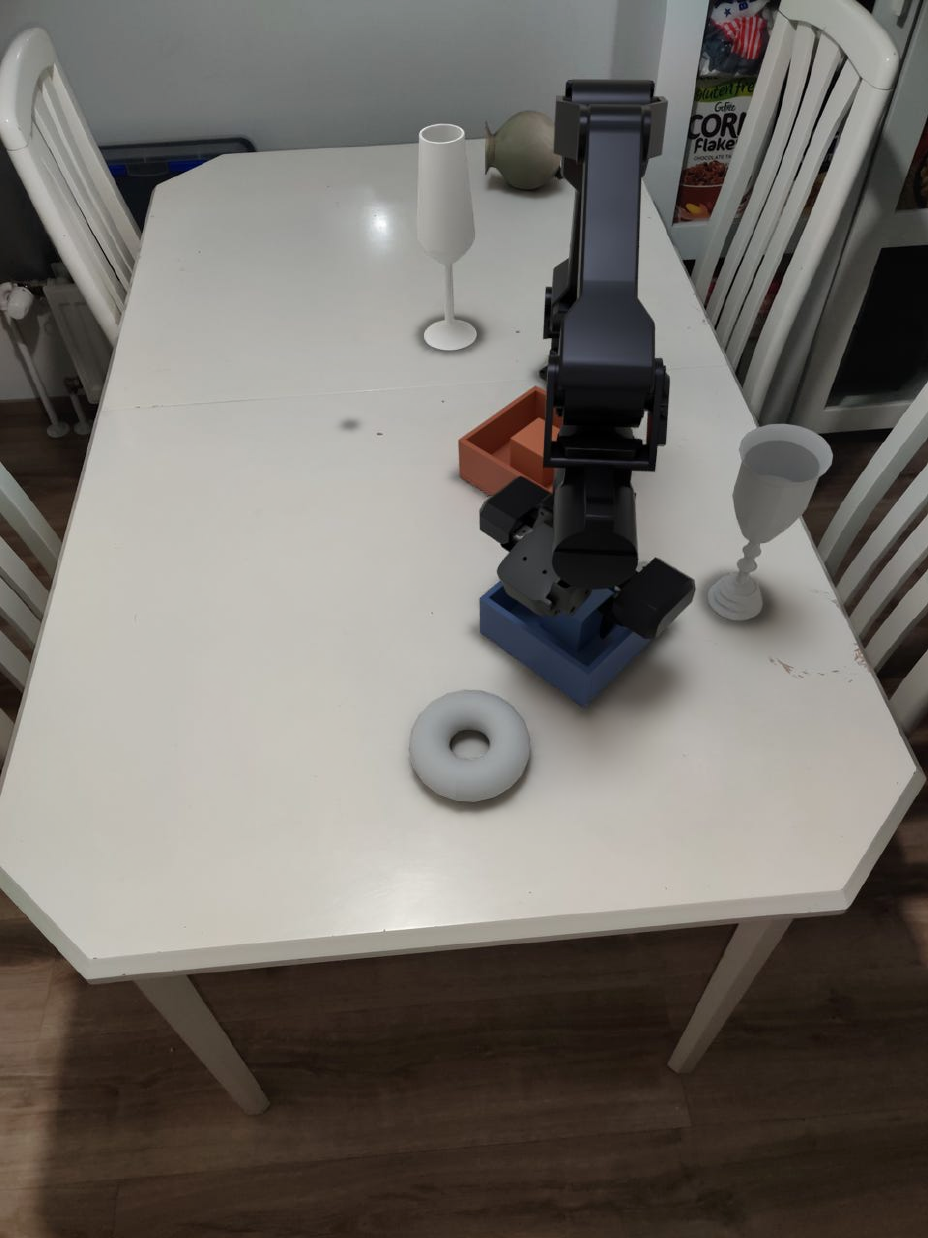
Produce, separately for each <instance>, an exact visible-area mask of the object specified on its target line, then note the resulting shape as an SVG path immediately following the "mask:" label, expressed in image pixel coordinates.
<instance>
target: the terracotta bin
mask: <svg viewBox="0 0 928 1238" xmlns="http://www.w3.org/2000/svg"><path fill="white" fill-rule="evenodd" d="M545 408H546V390H545V389H543V388H541V387H539V386H537V385H533V386H532V387H531V388H529V389H528V390H526V391H525V392H524V393H522V394H521V395H519V397H517V398H515V399H514V400H512V401H511V402H509V403H508V404H507V405H505V406H504V407H503V408H501V409H500V410H498V411H497V412H496V413H494V414H492V415H491V416H490V417H489V418H487V419H486V420H485V421H483V422H481V423H480V424H479V425H477V426H476V427H474V428H473V429H471V430H470V431H469V432H467V433H466V434H464V435H463V436H462V437H460V438H459V439H458V440H457V441H458V443H457V444H458V445H457V446H458V467H459V468H458V469H459V472H458V473H459V477H460V478H462V479H463V480H465V481H466V482H468V483H470V484H472V485H473V486H474V487H476V488H477V489H479V490H481V491H483V492H484V493H485V494H487V495H489V496H490V497H491V496H492V495H493V494H495V493H496V492H497V491H499V490H500V489H501V488H503V487H504V486H505V485H506V484H508V483H509V482H510V481H512V480H513V479H515V478H517V477H519V476H523V477H526V478H528V477H527V476H525V475H523V474H522V473H520V472H519V471H517V470H515V469H514V468H512V467H510V443H511V437H513V436H514V435H516V434H517V433H518V432H520V431H521V430H522V429H524V428H525V427H526V426H528V425H529V424H530V423H532V422H533V421H535V420H536V419H537V418H541V419H543V420H544V421H545ZM561 425H562V417H557V415H556V414H555V408H553V426H555V427H557V428H559V429H560V427H561ZM528 479H530V478H528ZM530 480H531V481H533V480H532V479H530ZM533 482H535V481H533ZM535 483H536V484H538V483H537V482H535ZM538 485H539V486H541V487H543V486H542V485H540V484H538ZM543 488H544V489H546V490H548V491H549V492H551V493H552V491H553V482H551V483H550V484H549V485H547V486H546V487H543Z"/></svg>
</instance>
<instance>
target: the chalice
mask: <svg viewBox="0 0 928 1238" xmlns="http://www.w3.org/2000/svg"><path fill="white" fill-rule="evenodd" d="M738 447H739V448H738V453H739V456H740V460H741V462H740V466H739V470H738V474H737V477H736V479H735V484H734V487H733V491H732V494H731V495H732V502H733V503H732V504H733V509H734V514H735V518H736V521H737V523H738V524H737V525H738V527H739V529H740V532H741V534H742V536H743V537H744V539H746V540H747V541H748V542H747V544H745V545H744V546H742V549H741V551H742V553H743V558H740V559H738V560H737V562H736V567H737V568H738V571H733V572H730V573H726V574H725V575H723V576H721V578H720V579H719V580H717V581H716V583H715V582H714V584H712V586H711V587H710V588H709V590H708V593H707V600H708V604H709V606H710V607H711V609H712V610H713V611H714V612H715V613H717V614H718V616H721V617H723V618H725V619H727V620H732V621H747V620H750V619H753V618H754V617H756V616H758V615H759V614H760V612H761V610H762V609H763V605H764V604H763V603H764V601H763V598H762V592H761V589H760V585H759V583H758V581H757V580H756V579H755V578H754V577H752V576H751V575H750V574H751V573H753V572H754V571H756V570H757V568H758V564H757V562H756V561H755V560H756V558H758V557H759V556H761V554H762V550H761V544H766V543H769V542H771V541H772V540H774V539H776V538H777V537H778V536H779V535H781V534H782V533H784V532H785V531H786V530H788V529H790V527H792V525H793V524H795V522H796V521H798V519H800V517H801V516H803V514H804V513H805V511H806V510H807V508H808V507H809V504H810V502H811V498H812V496H813V493H814V491H815V489H816V486H817V484H818V481H819V479H820V477H822V475H824V474H826V472H827V471H828V470H829V469H830V467H831V466H832V464H833V457H834V454H833V451H832V449H831V446H830V445H829V443H828V442H827V441H826V439H824V438H823V437H822V436H821V435H819V434H818V433H816V432H815V431H813V430H811V429H809V428H806V427H803V426H800V425H796V424H789V423H771V424H766V425H762V426H759V427H758V426H757V427H756V428H754V429H752V430H751V431H748V432H747V433H746V434H745V436H743V438H742V439H741V440H740V444H739V446H738Z"/></svg>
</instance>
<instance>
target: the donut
mask: <svg viewBox="0 0 928 1238" xmlns="http://www.w3.org/2000/svg"><path fill="white" fill-rule="evenodd" d="M466 730H471V731H477V732H480V733H482V734H483V735H485V737H486V738H487V739H488V741H489V747H488V750H486V752H485V753H484V754H483V755H481V756H479V757H477V758H472V759H469V758H468V759H467V758H462V757H459V756H457V755H456V754H454V753H453V751H452V750H451V746H450V742H451V740H452V738H453V737H454V736H455V735H456V734H458V733H460V732H462V731H466ZM408 753H409V758H410V762H411V766H412V768H413V769H414V771H415V773H416V774H417V776H418V777H419V779H420V780H421V782H422V783H423V784H424V785H425V786H427V787H428V788H429V789H430V790H432V791H433V792H434V793H436V794H437V795H439V796H442V797H445V798H447V799H450V800H453V801H455V802H473V803H474V802H480V801H484V800H489V799H492V798H495V797H497V796H499V795H501V794H502V793H503V792H506V791H508V790H509V789H511V788H512V787H513V785H514V784H515V783H516V782H517V781H518V780H519V779H520V778H521V776H523V774H524V771H525V769H526V766H527V764H528V761H529V759H530V757H531V735H530V733H529V729H528V726H527V724H526V721H525V719H524V718H523V716H522V715H521V714H520V712H519V711H518V710H517V708H515V706H514V705H512V704H511V703H509V702H508V701H506V699H503V698H502V697H500V696H499V695H496V694H493V693H490V692H487V691H484V690H478V689H477V690H476V689H462V690H457V691H452V692H448V693H446V694H444V695H442V696H440V697H438V698H436V699H435V700H433V701H431V702H430V703H429V704H428V705H427V706H426V707H425V708H424V709H422V711H421V712H420V713H418V715H417V717H416V719H415V721H414V723H413V725H412V727H411V729H410V734H409V742H408Z"/></svg>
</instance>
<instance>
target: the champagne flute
mask: <svg viewBox="0 0 928 1238" xmlns="http://www.w3.org/2000/svg"><path fill="white" fill-rule="evenodd" d="M466 143H467V142H466V135H465V130H464V129H463V128H461V127H460V126H459V125H455V124H452V123H437V124H436V123H435V124H431V125H428V126H426V127H424V128H422V129H421V130H420V131H419V133H418V163H417V164H418V166H417V167H418V168H417V202H416V203H417V204H416V205H417V206H416V207H417V209H416V211H417V212H416V240H417V243H418V244H419V245H420V247H421V249H422V250H423V252H424V253H425V254H426V255H427V256H429V258H431V259H433V260H434V261H435V262H437V263H438V264H441V266H442V288H443V306H444V308H443V310H444V319H442V320H439V321H437V322H433V323H432V324H430V325H429V326H428V327H427V328H426V329H425V331H424V334H423V338H424V341H425V342H426V343H427V344H428V345H429V346H430V347H432V348H434V349H437V350H440V351H458V350H462V349H464V348H468V347H469V346H470V345H472V344H473V343H474V342H475V341H476V340H477V339H476V338H477V330H476V328H475V327H474V326H473V325H472V324H471V323H469V322H466V321H463V320H459V319H455V305H454V303H455V300H454V298H455V297H454V296H455V295H454V272H453V264H455V263H457V262H458V261H459V260H461V259H462V257H463V256H465V255H466V254H467V253H468V251H470V249H471V247H472V246H473V243H474V242H475V239H476V227H475V217H474V208H473V198H472V189H471V180H470V173H469V164H468V163H469V162H468V153H467V144H466Z"/></svg>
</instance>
